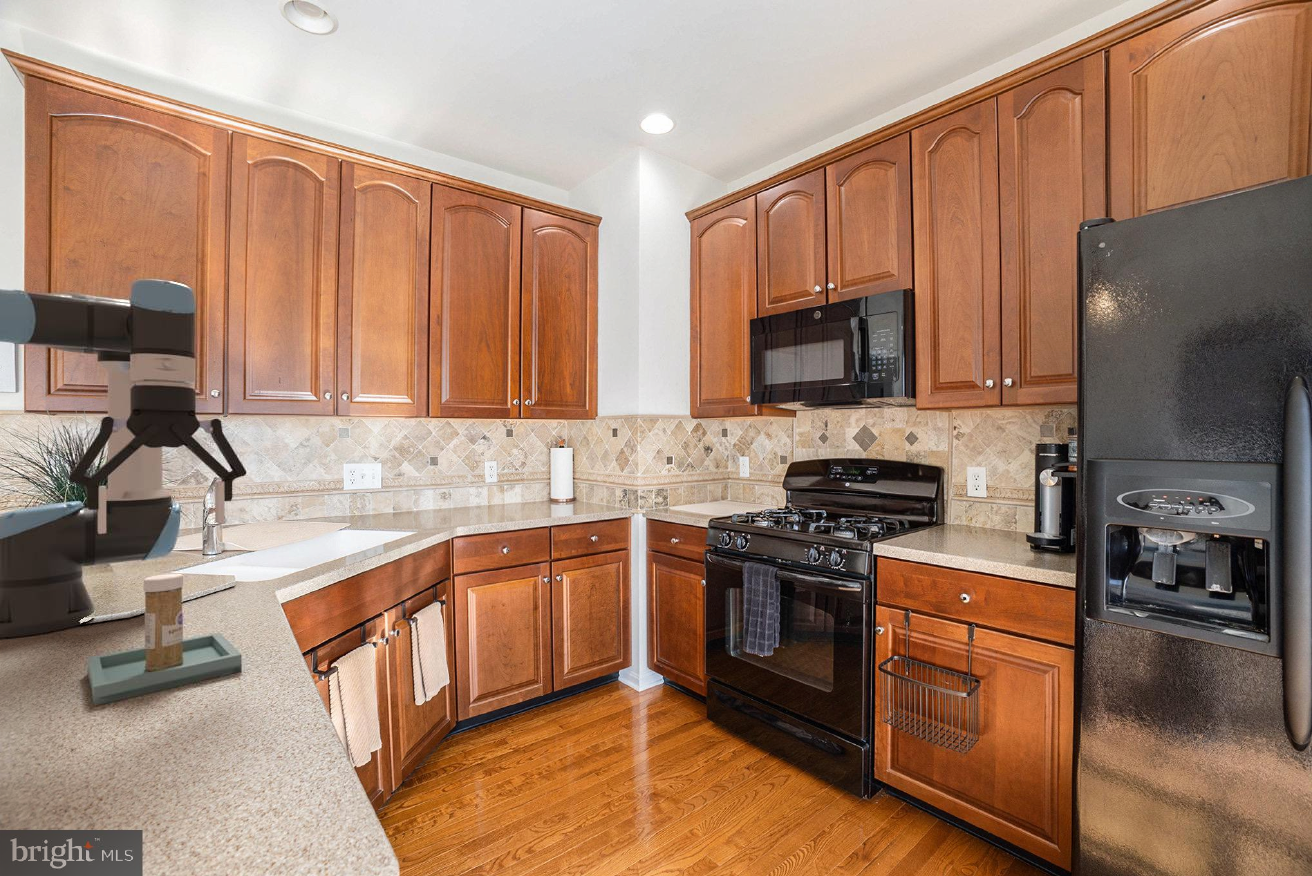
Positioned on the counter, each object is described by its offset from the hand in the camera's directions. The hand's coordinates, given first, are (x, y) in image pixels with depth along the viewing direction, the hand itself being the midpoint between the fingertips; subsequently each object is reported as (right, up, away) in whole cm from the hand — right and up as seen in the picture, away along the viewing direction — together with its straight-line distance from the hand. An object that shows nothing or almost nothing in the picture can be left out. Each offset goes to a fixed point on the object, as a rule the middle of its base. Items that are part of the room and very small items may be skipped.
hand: (164, 527), depth 88 cm
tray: (0, -22, 0) cm, 22 cm away
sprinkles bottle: (0, -21, 0) cm, 21 cm away
